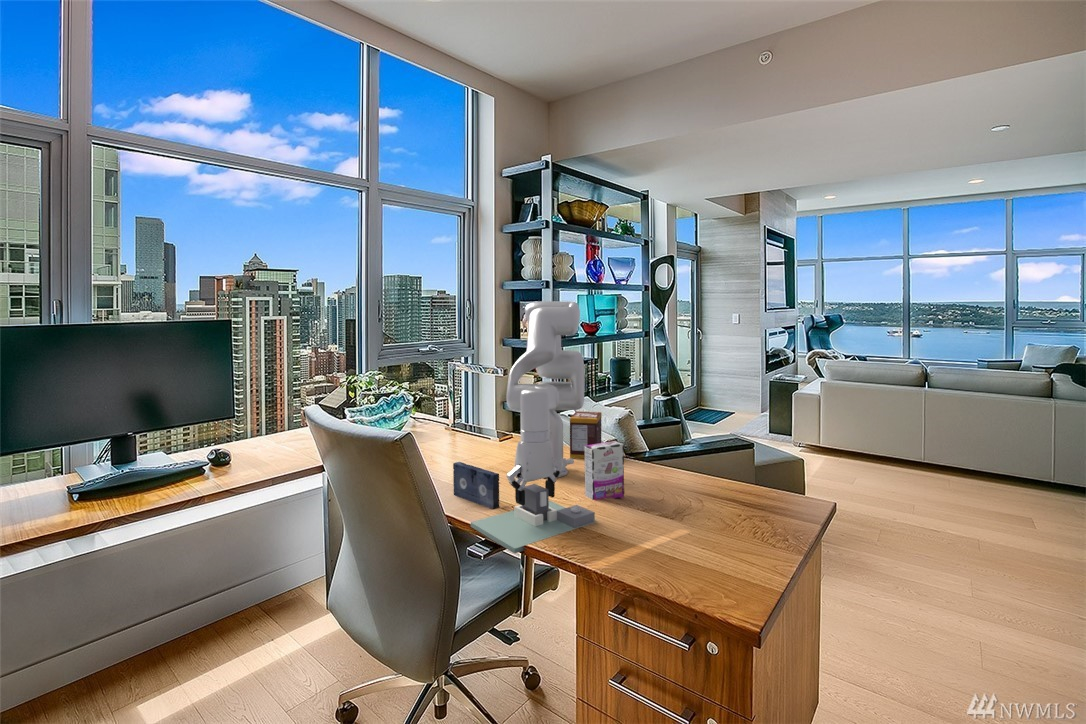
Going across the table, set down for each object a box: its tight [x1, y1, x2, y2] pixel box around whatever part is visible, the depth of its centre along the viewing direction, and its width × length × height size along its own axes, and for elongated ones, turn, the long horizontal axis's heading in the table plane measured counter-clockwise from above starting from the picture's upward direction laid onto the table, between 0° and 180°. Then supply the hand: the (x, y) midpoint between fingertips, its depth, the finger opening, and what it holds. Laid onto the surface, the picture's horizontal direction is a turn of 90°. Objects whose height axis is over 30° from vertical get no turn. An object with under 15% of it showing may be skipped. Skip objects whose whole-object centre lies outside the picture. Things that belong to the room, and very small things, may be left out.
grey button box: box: [557, 504, 596, 528], centre depth 140 cm, size 7×7×3 cm
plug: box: [523, 483, 550, 521], centre depth 142 cm, size 4×7×8 cm, turn 37°
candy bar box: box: [584, 440, 625, 501], centre depth 160 cm, size 11×5×16 cm, turn 117°
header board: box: [470, 500, 598, 554], centre depth 140 cm, size 26×20×4 cm
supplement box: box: [569, 410, 602, 460], centre depth 210 cm, size 10×15×16 cm
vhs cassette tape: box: [452, 461, 500, 510], centre depth 159 cm, size 18×3×10 cm, turn 45°
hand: (535, 499), depth 142 cm, fingers open, 9 cm apart
